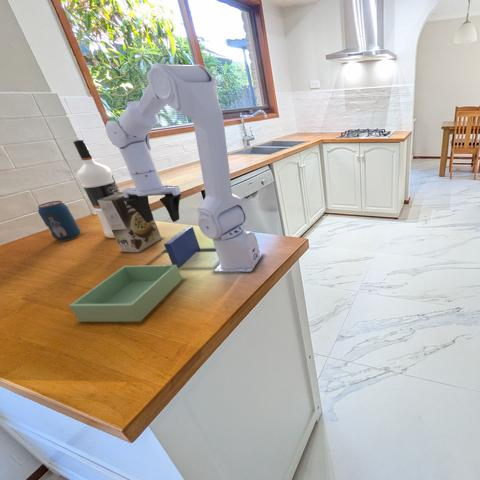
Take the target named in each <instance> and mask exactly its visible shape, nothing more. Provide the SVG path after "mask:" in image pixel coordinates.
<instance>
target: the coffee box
mask: <svg viewBox="0 0 480 480" xmlns="http://www.w3.org/2000/svg"><path fill="white" fill-rule="evenodd" d="M128 199H129V197H128V198H125V197H124V195H123V193H122V191H120V192H119V193H116V194H113V195H111V196H108V197H105V198H102V199H99V200H97V201H98V203H99V205H100V207H101V209H102V211H103V213H104V215H105V217H106V219H107V222H108V224H109V226H110V228H111V230H112V232H113V234H114V236H115V238H114V239H115V240H116V243H117V244H118V246H119V248H120V251H121V252H125V253H140V252H142V251H144V250H145V249H147V248H148V247H150V246H152V245H154V244H156V243H157V242H159V241H160V240H162V239H163V238H162V235H161V232H160V230H159V228H158V225H157V223H156V221H155V219H154V220H152V221H151V222H149V223H147V222H146V221H145V220H144V219H143V217H142V216H141V215H140V214H139V213H138V212H137V211H136V210H135V209H134V208H133V207H131V206H130V205H129V204H127V203H126V200H128Z"/></svg>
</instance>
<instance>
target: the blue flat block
mask: <svg viewBox="0 0 480 480" xmlns="http://www.w3.org/2000/svg"><path fill="white" fill-rule="evenodd" d="M164 247H165V250H167V253H166V254H167V256H168V258H169V260H170V262H171V265H177V267H178V269H180V268H181V267H182V266H183V265H184V264H185V263H187V262H188V261H189V260H190V259H191V258H192V257H194V255H195V254H196V253H198V252H197V251H198V250H199V249H201V247H200V244H199V241H198V238H197V235H196V233H195V229H194V227H193V226H186V227H185V228H183V229H182V230H181V231H179V232H178V233H177V234H176V235H174V236H173V237H171V238H170V239H169V240H167V241H166V242H165V243H164Z"/></svg>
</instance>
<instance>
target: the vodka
mask: <svg viewBox="0 0 480 480" xmlns="http://www.w3.org/2000/svg"><path fill="white" fill-rule="evenodd" d="M72 143H73V145H74V147H75V150H76V151H77V153H78V155H79V157H80V159H81V161H82V163H83V164H82V165H81V166H80V168H79V169H78V170H77V171H76V178H77V180H78V181H79V182H80V184H81V187H82V188H83V189H84V192H85V193H86V195H87V197H88V199H89V201H90V203H91V205H92V207H93V211H94V212H95V213H96V215H97V217H98V219H99V221H100V225H101V227H102V232H103V234H104V236H105V237H106V238H108V239H116V238H115V236H114V234H113V232H112V230H111V228H110V226H109V224H108V222H107V219H106V217H105V215H104V213H103V211H102V209H101V207H100V205H99V203H98V201H97V200H99V199H102V198H105V197H108V196H111V195H113V194H116V193H119V192H121V191H120V189H119V187H118V184H117V182H116V180H115V177H114V176H113V174H112V173H113V172H112V170H111V168H109V167H108V166H107V165H103V164H101V163H98V162H96V161H95V160H94V157H93V156H92V154H91V152H90V149H89V147H88V145H87V144H86V141H85V140H84V139H77V140H74V141H73V142H72Z"/></svg>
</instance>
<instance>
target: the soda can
mask: <svg viewBox="0 0 480 480" xmlns="http://www.w3.org/2000/svg"><path fill="white" fill-rule="evenodd" d="M37 208H38V210H37V211H38V212H37V213H38V215H39V216H40V217H41V219H42V221H43V223H44V224H45V226H46V228H47V229H48V232H50V234H51V236H52V238H53V239H55V240H57V241H59V242H66V241H71V240H73V239H76V238H78V237H79V236H80V235H81V231H82V230H81V229H80V227H79V225H78V223H77V221H76V219H75V217H74V216H73V214H72V212H71V210H70V209H69V207H68V205H67V204H65V203H64V202H63V201H62V200H53V201H48V202H44V203H41V204H39V205H38V206H37Z"/></svg>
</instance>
